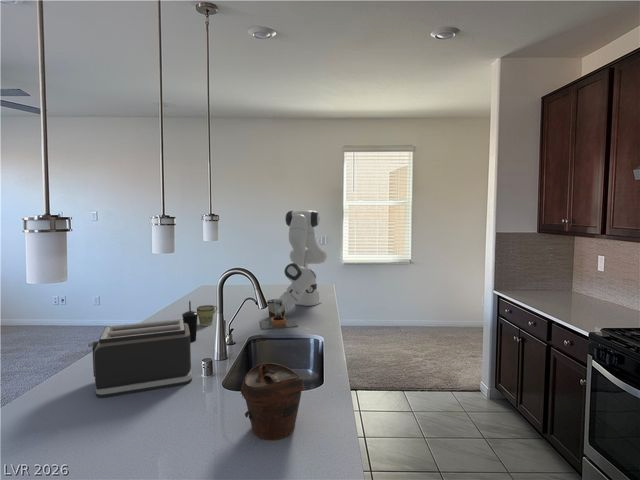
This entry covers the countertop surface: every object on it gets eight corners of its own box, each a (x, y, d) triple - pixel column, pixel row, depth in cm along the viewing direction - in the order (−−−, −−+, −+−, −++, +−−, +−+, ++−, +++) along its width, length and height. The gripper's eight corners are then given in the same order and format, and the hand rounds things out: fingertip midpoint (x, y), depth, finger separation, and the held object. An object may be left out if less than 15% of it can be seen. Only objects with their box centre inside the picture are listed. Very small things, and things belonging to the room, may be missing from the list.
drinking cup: (179, 340, 192) (178, 301, 191) (194, 337, 198) (192, 298, 197) (187, 344, 187) (186, 303, 186) (201, 340, 193) (200, 301, 191)
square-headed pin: (274, 318, 221) (274, 299, 220) (281, 318, 222) (281, 299, 221) (275, 320, 217) (275, 301, 216) (282, 320, 218) (282, 300, 217)
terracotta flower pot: (259, 406, 127) (258, 353, 125) (315, 419, 119) (315, 362, 117) (226, 436, 110) (225, 375, 109) (289, 453, 102) (288, 388, 101)
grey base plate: (259, 322, 224) (259, 316, 224) (293, 320, 229) (293, 314, 229) (261, 329, 211) (261, 323, 210) (297, 326, 215) (297, 320, 215)
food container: (288, 314, 241) (288, 299, 240) (286, 317, 235) (286, 301, 234) (269, 314, 242) (268, 298, 242) (266, 316, 236) (266, 300, 235)
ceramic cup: (204, 327, 214) (203, 310, 213) (193, 324, 220) (192, 307, 219) (222, 322, 224) (222, 305, 224) (212, 319, 231) (211, 303, 230)
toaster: (94, 378, 149) (92, 326, 147) (189, 365, 162) (188, 317, 160) (85, 401, 131) (82, 342, 129) (192, 384, 144) (191, 330, 142)
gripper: (287, 285, 230) (271, 302, 228) (292, 292, 210) (275, 311, 209) (294, 292, 231) (278, 309, 230) (301, 299, 211) (283, 318, 210)
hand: (277, 310), depth 219 cm, fingers closed on square-headed pin, 3 cm apart
